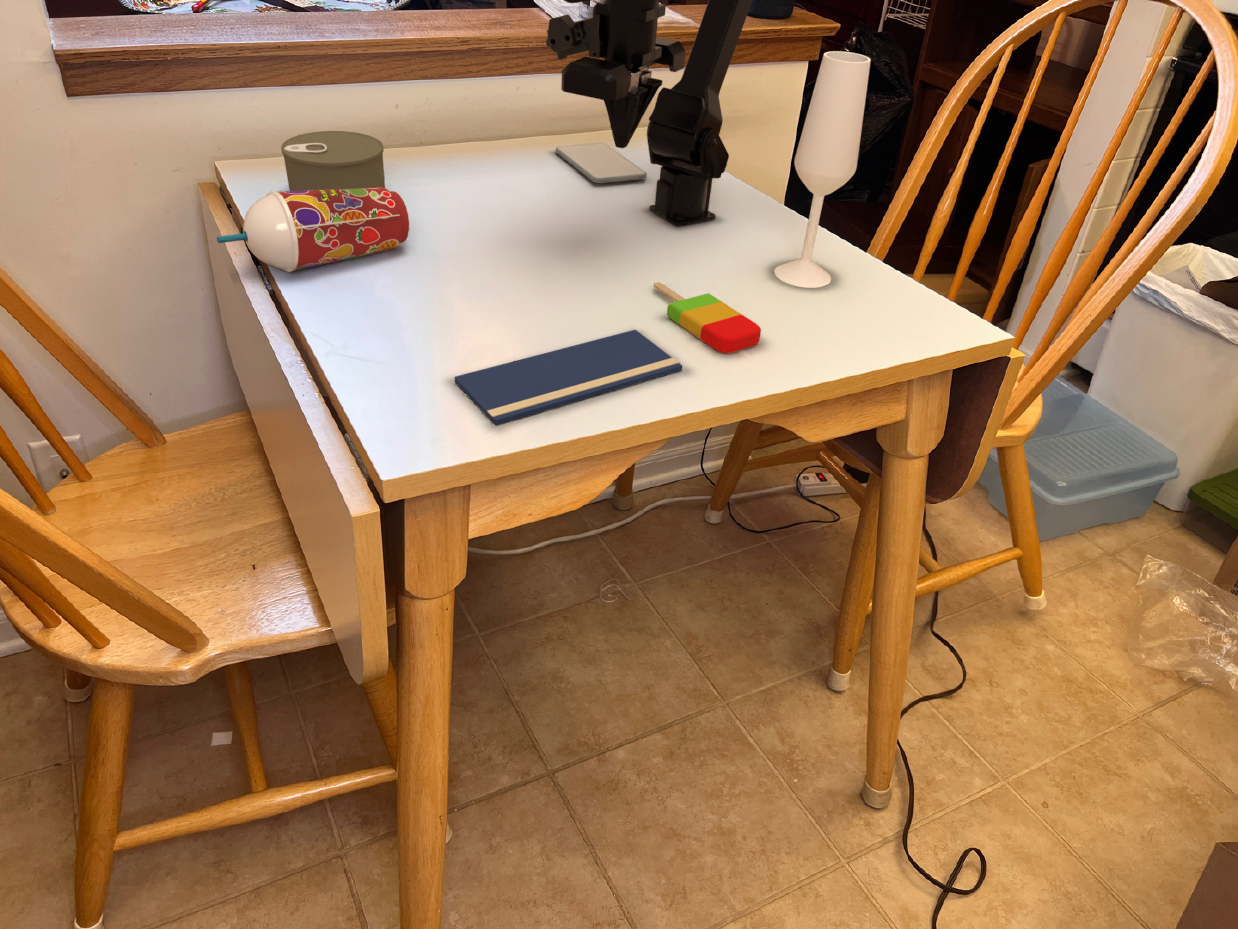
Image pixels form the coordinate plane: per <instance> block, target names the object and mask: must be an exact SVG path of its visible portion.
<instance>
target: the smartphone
mask: <svg viewBox="0 0 1238 929" xmlns="http://www.w3.org/2000/svg"><path fill="white" fill-rule="evenodd" d="M555 153H556V154H558V155H559V156H560V157H561V158H563V159H564V160H565V161H566V162H568V163H569V164H570V165H572V167H574V168H575V169H576V170H578V171H579V172H580V173H581V174H582V175H584V176H585V177H587V178H588V179H589V180H590V181H591V182H593V183H595V184H607V183H615V182H629V181H636V180H637V181H638V180H644V179H647V176H648V173H647V172H646V171H644V170H643V169H642V168H641V167H639V166H637V165H636V164H635V163H633V162H632V161H630V160H629V159H627V158H626V157H624V156H623V155H622V154H620V153H619V152H617V151H616V150H614V148H612V147H611V146H609V145H608V144H606V143H603V142H599V143H587V144H586V143H585V144H574V145H573V144H572V145H562V146H561V145H559V146H557V147H555Z"/></svg>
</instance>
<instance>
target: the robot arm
mask: <svg viewBox="0 0 1238 929" xmlns="http://www.w3.org/2000/svg"><path fill="white" fill-rule="evenodd" d="M563 1H564V2H566V3H569V4H578V3H584V2H591V1H592V0H563ZM752 3H753V0H707V3H706V4H707V5H706V7H705V9H704V12H703V15H702V18H701V21H700V24H699V27H698V30H697V32H696V36H695V38H694V42H693V44H692V46H691V50H690V52H689V56H688V58H687V62H686V64H685V61H686V49H685V48H684V45H683V44H682V42H681V41H680V40H679V39H678V40H677V39H671V38H667V37H662V36H661V37H660V36H657V34H658V33H657V32H658V21H659V19H660V18H662V17H665V16H666V9H667V5H666V4H662V3H660V0H600V1H598V2H595V4H594V6H593V8H592V16H591V17H588V18H584V19H583V18H582V19H579V20H576V21H574V20H573V18H572V17H571V16H570V14H568V13H567V14H564V15H560V16H556V17H553V18H550V19H549V20H548V28H547V30H546V33H547V38H546V40H545V44H546V46H547V47H548V48H550V50H551V51H553V52H555V54H556V57H557V58H556V59H557V60H558V61H561V60H566V59H567V58H568V56H573V55H576V54H580V53H585V52H588V56H584V57H583V56H582V57H581V58H578V59H575V60H573V61H570V62H569V63H568V64H567V65H566V66H565V67H564V68H563V69H562V70H561V82H560V84H561V86H560V87H561V88H560V89H561V91H562V92H563V93H567V94H573V95H576V96H577V95H578V96H582V97H587V98H592V99H596V100H601V101H603V103H604V106H605V109H606V112H607V116H608V121H609V124H610V130H611V133H612V137H613V142H614V146H615V147H616V148H619V149H625V148H627V147H628V146H629V143H630V142H631V140H632V137H633V136H634V134H635V132H636V130H637V128H638V126H639V124H640V123H641V121H642V119H643V117H644V115H645V114H646V111H647V109H648V107H649V106H650V104H651V103H652V101H653V99H654V97H655V96H656V94H657V92H658V94H657V98H656V101H655V105H654V108H653V110H652V112H651V114H650V116H649V117H648V121H649V122H648V124H647V128H646V139H647V148H648V154H649V162H650V164H652V165H656V166H660V169H659V179H657V181H656V186H655V199H654V204H652V205H651V204H650V205H649V206H648V207H649V208H648V210H649V211H651V212H652V213H653V214H656V215H657V216H659V217H661V218H662V219H664V220H665V221H667V222H669V223H670V224H672V225H674V226H675V227H682V226H687V225H693V224H698V223H703V222H706V221H707V222H708V221H711V220H716V217H717V215H716V214H715V213H714V212H711V211H710V209H709V208H710V202H711V201H710V200H711V194H712V186H713V179H721V178H722V174H723V173H725V171H726V168H727V166H728V162H729V158H730V154H729V152H728V151H727V148H726V146H725V145H724V142H723V140H722V138H721V136H720V134H721V129H722V126H723V123H724V122H723V114H722V113H723V112H722V109H721V102H720V97H719V96H720V93H721V91H722V90H721V89H722V87H723V84H724V82H725V78H726V75H727V73H728V70H729V67H730V64H731V62H732V60H733V59H732V58H733V56H734V53H735V50H736V47H737V44H738V42H739V39H740V36H741V33H742V31H743V28H744V25H745V22H746V20H747V16H748V14H749V12H750V11H749V10H750V9H751V5H752ZM655 64H659V65H663V66H668V69H669V71H670V72H671V73H676V72H679V71H681V70H683V69H684V70H683V73H682V76H681V78H680V80H678V82H676V83H675V84H674V85H673V86H672V87H671V88H668V87H665V86H663V87H662V85H663V80H662V79H659V78H653V77H652V75H653V74H652V73H653V72H652V71H651V70H650V67H651V66H653V65H655ZM660 87H662V88H661V89H660V91H658V90H659V88H660Z"/></svg>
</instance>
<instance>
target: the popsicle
mask: <svg viewBox="0 0 1238 929" xmlns="http://www.w3.org/2000/svg"><path fill="white" fill-rule="evenodd" d="M653 287H654V288H655V289H656V290H658V291H659V292H661V293H663V294H664V295H665V296H667V297H668V298H670V299H671V300H673V302H669V303H668V304H667V308H666V309H667V310H666V314H667V318H669V319H670V320H672V321H673V322H675V323H676V324H678V325H679V326H680V327H682V328H683V329H685V330H686V331H688V332H689V333H690V334H692V335H693V336H695V337H696V338H698V339H700V340H701V341H702V342H704V343H705V344H707V346H709V347H711V348H712V349H714V350H715V351H717V352H719V353H721V354H731V353H735V352H738V351H742V350H745V349H748V348H751V347H754V346H757V344H759V342H760V340H761V334H762V328H761V327H760V325H758V324H757V323H756V322H754V321H753V320H751V319H750V318H748V317H747V316H746V315H744V314H742V313H740V312H739V311H737V310H736V309H734V308H732V307H731V306H730V305H728V304H726V303H725V302H723V301H722V300H720V299H718V298H717V297H716V296H714V295H712V294H711V293H704V294H699V295H697V296H692V297H689V298H685V297H683V296H682V295H680V294H679V293H677V292H676V291H674V290H672V289H671V288H669V287H668V286H667V285H665V284H664V283H662V282H660V281H659V282H657V281H656V282H654V283H653Z"/></svg>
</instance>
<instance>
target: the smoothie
mask: <svg viewBox="0 0 1238 929" xmlns="http://www.w3.org/2000/svg"><path fill="white" fill-rule="evenodd" d="M408 212H409V211H408V209H407V205H406V204H405V202H404V199H403V198H402V197H401V194H399V193H398V192H397V191H392V190H388V189H387V188H386V187H385V188H359V189H333V190H307V191H289V190H285V191H284V190H283V191H274V190H269V191H268V192H267V193H266V195H264V196H263V197H261V198H259V199H258V200H256V201H255V202H254V203H253V204H252V205H251V206H250V207H249V209H248V210H247V212H246V214H245V216H244V219H243V224H242V233H235V234H229V235H219V236H216V240H217V243H218V244H223V243H230V242H239V241H240V242H241V241H244V242H245V244H246V246H247V248H248V249H249V252H251V253H252V254H253V255H254V256H255V257H256V259H258V260H259V261H261V263H264V264H266V265H268V266H269V267H270V266H271V267H273V268H277V269H282V271H283V272H287V273H292V272H293V271H299V270H303V269H307V268H308V269H309V268H312V267H317V266H323V265H326V264H332V263H336V262H340V261H344V260H349V259H355V258H359V257H363V256H367V255H373V254H377V253H381V252H382V253H383V252H385V251H391V250H395V249H396V248H397V247H398V246H399V245H400V244H404V242H406V241H407V239H408V237H409V233H410V217H409V213H408Z"/></svg>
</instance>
